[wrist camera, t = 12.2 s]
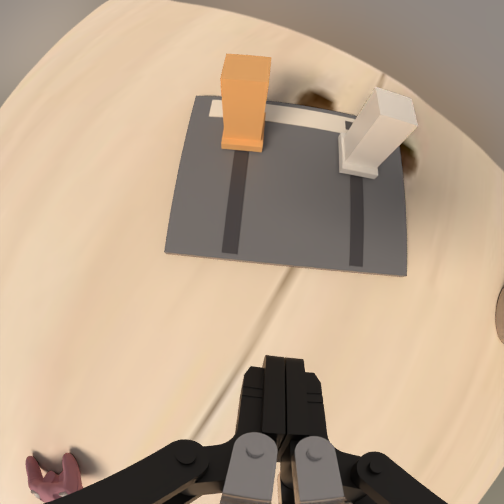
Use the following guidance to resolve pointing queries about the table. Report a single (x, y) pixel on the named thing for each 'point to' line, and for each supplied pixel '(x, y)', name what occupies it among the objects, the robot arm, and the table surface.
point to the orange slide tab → (244, 101)
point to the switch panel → (286, 196)
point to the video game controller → (53, 479)
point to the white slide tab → (376, 133)
